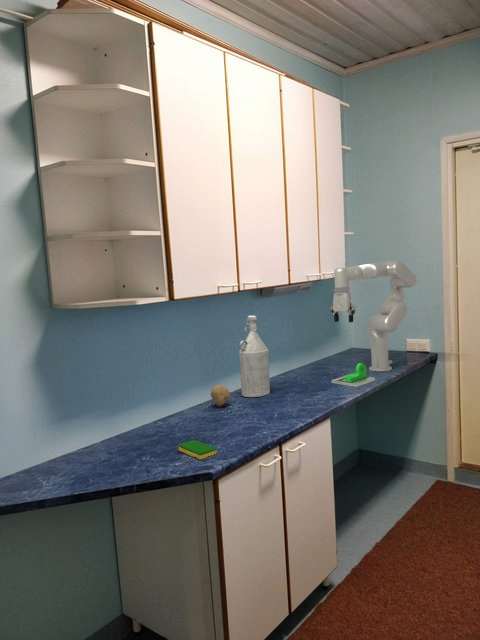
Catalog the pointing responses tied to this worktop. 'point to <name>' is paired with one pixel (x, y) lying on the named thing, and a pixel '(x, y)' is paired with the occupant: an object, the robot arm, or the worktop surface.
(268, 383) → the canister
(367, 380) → the flange
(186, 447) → the dish sponge
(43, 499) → the worktop surface
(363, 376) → the mechanical part
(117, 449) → the worktop surface
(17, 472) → the worktop surface
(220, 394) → the natural sponge
